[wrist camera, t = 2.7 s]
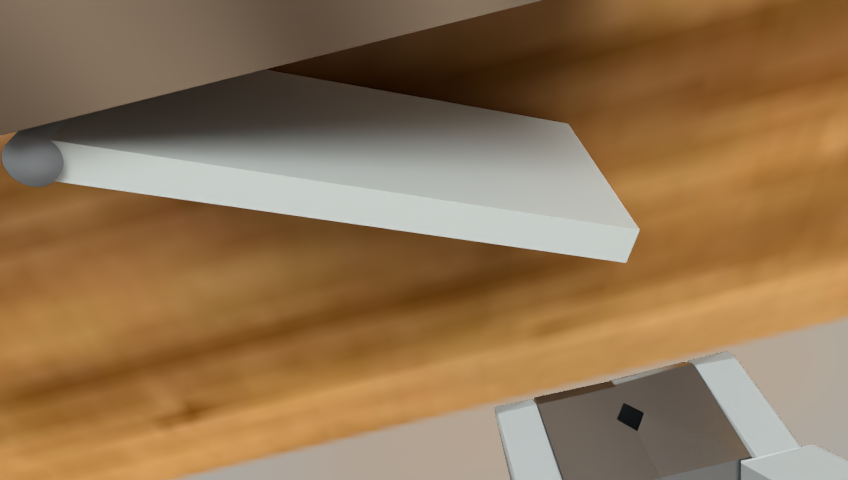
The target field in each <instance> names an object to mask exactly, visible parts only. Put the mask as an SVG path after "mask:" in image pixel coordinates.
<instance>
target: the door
mask: <svg viewBox="0 0 848 480" xmlns="http://www.w3.org/2000/svg"><path fill="white" fill-rule="evenodd" d="M2 163H3V166H4V168H5V169H6V171H7V172H8V174H9V175H10V176H11V177H12V178H14V179H15V180H16V181H18V182H20V183H22V184H24V185H27V186H32V187H42V186H47V185H49V184H51V183H53V182H54V181H56V182H63V183H70V184H77V185H84V186H91V187H98V188H105V189H112V190H119V191H126V192H133V193H140V194H147V195H154V196H161V197H168V198H175V199H182V200H189V201H196V202H203V203H210V204H217V205H224V206H231V207H238V208H245V209H252V210H259V211H266V212H273V213H280V214H287V215H294V216H301V217H308V218H315V219H322V220H329V221H336V222H343V223H350V224H357V225H364V226H371V227H378V228H385V229H392V230H399V231H406V232H413V233H420V234H427V235H434V236H441V237H448V238H455V239H462V240H469V241H476V242H483V243H490V244H497V245H504V246H511V247H518V248H525V249H532V250H539V251H546V252H553V253H560V254H567V255H574V256H581V257H588V258H595V259H603V260H610V261H617V262H624V263H626V262H627V259H628V257H629V255H630V252H631V250H632V247H633V245H634V243H635V240H636V238H637V235H638V233H639V231H640V230H639V228H638V227H637V225H636V224H635V222H634V221H633V219H632V218H631V216H630V215H629V213H628V212H627V210H626V209H625V207H624V206H623V204H622V203H621V201H620V200H619V198H618V197H617V195H616V194H615V192H614V191H613V189H612V188H611V186H610V185H609V183H608V182H607V181H606V179H605V178H604V176H603V175H602V173H601V172H600V170H599V169H598V167H597V166H596V164H595V163H594V161H593V160H592V158H591V157H590V155H589V154H588V152H587V151H586V149H585V148H584V146H583V145H582V143H581V142H580V140H579V139H578V137H577V136H576V134H575V133H574V131H573V130H572V128H571V127H570V125H569V124H568V123H562V122H556V121H551V120H545V119H540V118H534V117H528V116H523V115H517V114H511V113H506V112H500V111H495V110H489V109H483V108H478V107H472V106H467V105H461V104H455V103H450V102H444V101H439V100H433V99H427V98H422V97H416V96H411V95H405V94H399V93H394V92H388V91H383V90H377V89H371V88H366V87H360V86H355V85H349V84H343V83H338V82H332V81H327V80H321V79H315V78H310V77H304V76H299V75H293V74H287V73H282V72H276V71H270V70H265V69H264V70H260V71H256V72H252V73H248V74H244V75H240V76H236V77H232V78H228V79H224V80H220V81H216V82H212V83H208V84H204V85H200V86H196V87H192V88H188V89H184V90H180V91H176V92H172V93H168V94H164V95H160V96H156V97H152V98H148V99H144V100H140V101H136V102H132V103H128V104H124V105H120V106H116V107H112V108H108V109H104V110H100V111H96V112H92V113H88V114H84V115H80V116H76V117H72V118H68V119H64V120H60V121H56V122H52V123H48V124H44V125H40V126H36V127H32V128H28V129H24V130H20V131H18V132H17V133H16V134H15V135H14V136H13V137H12V138H11V140H10V141H9V142H8V143H7V144H6V145H5V146H4V148H3V151H2Z"/></svg>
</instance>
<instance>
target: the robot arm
mask: <svg viewBox="0 0 848 480" xmlns="http://www.w3.org/2000/svg"><path fill="white" fill-rule="evenodd" d="M495 415H496V419H497V424H498V427H499V432H500V437H501V441H502V445H503V450H504V454H505V458H506V462H507V466H508V471H509V475H510V480H848V460H846V459H844V458H842V457H840V456H838V455H836V454H834V453H832V452H830V451H828V450H826V449H824V448H822V447H820V446H818V445H816V444H812V445H807V446H801V445H800V444H799V442H798V441H797V440H796V438H795V437H794V436H793V434H792V433H791V431H790V430H789V429H788V427H787V426H786V425H785V423H784V422H783V421H782V419H781V418H780V416H779V415H778V414H777V412H776V411H775V410H774V408H773V407H772V406H771V404H770V403H769V401H768V400H767V399H766V397H765V396H764V395H763V393H762V392H761V391H760V390H759V388H758V386H757V385H756V384H755V382H754V381H753V380H752V378H751V377H750V376H749V374H748V373H747V371H746V370H745V369H744V367H743V366H742V365H741V363H740V362H739V361H738V359H737V358H736V356H735V355H733V354H731V353H730V352H728V351H725V352H721V353H717V354H713V355H709V356H705V357H701V358H697V359H693V360H689V361H688V362H687V363H686V362H682V363H678V364H674V365H670V366H666V367H662V368H658V369H654V370H650V371H646V372H642V373H638V374H634V375H630V376H626V377H622V378H619V379H614V380H610V381H609V382H604V383H600V384H595V385H590V386H586V387H581V388H576V389H572V390H567V391H563V392H558V393H553V394H549V395H544V396H539V397H535V398H534V400H533V399H531V400H526V401H521V402H516V403H511V404H506V405H502V406H497V407H495Z"/></svg>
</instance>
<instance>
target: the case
mask: <svg viewBox="0 0 848 480" xmlns="http://www.w3.org/2000/svg"><path fill="white" fill-rule="evenodd" d="M537 1H541V0H0V135H4V134H8V133H12V132H16V131H20V130H24V129H28V128H32V127H36V126H40V125H44V124H48V123H52V122H56V121H60V120H64V119H68V118H72V117H76V116H80V115H84V114H88V113H92V112H96V111H100V110H104V109H108V108H112V107H116V106H120V105H124V104H128V103H132V102H136V101H140V100H144V99H148V98H152V97H156V96H160V95H164V94H168V93H172V92H176V91H180V90H184V89H188V88H192V87H196V86H200V85H204V84H208V83H212V82H216V81H220V80H224V79H228V78H232V77H236V76H240V75H244V74H248V73H252V72H256V71H260V70H264V69H268V68H273V67H277V66H281V65H285V64H289V63H293V62H297V61H301V60H305V59H309V58H313V57H317V56H321V55H325V54H329V53H333V52H337V51H341V50H345V49H349V48H353V47H357V46H361V45H365V44H369V43H373V42H377V41H381V40H385V39H389V38H393V37H397V36H401V35H405V34H409V33H413V32H417V31H421V30H425V29H429V28H433V27H437V26H441V25H445V24H449V23H453V22H457V21H461V20H465V19H469V18H473V17H477V16H481V15H485V14H489V13H493V12H497V11H501V10H505V9H509V8H513V7H517V6H521V5H525V4H529V3H533V2H537Z"/></svg>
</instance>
